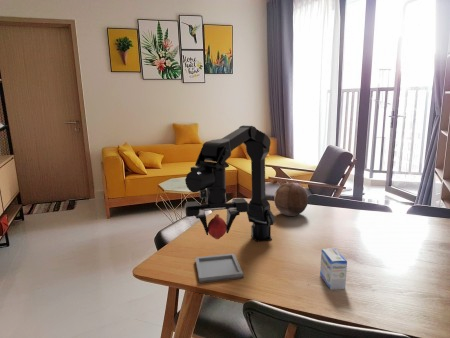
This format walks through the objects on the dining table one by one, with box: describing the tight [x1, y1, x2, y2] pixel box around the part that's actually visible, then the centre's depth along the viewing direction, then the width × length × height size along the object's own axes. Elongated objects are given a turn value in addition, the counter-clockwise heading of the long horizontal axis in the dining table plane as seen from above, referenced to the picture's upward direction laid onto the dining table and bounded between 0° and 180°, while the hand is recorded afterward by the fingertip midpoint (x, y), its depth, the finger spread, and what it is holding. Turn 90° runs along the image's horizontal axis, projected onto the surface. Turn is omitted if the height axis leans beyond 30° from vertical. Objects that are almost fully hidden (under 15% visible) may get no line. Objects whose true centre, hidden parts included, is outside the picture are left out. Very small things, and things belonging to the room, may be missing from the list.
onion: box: [207, 213, 227, 240], centre depth 98 cm, size 6×6×8 cm
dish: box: [195, 253, 244, 284], centre depth 101 cm, size 13×13×2 cm
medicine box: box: [319, 247, 348, 291], centre depth 92 cm, size 8×4×9 cm, turn 5°
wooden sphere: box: [273, 182, 309, 217], centre depth 146 cm, size 15×15×15 cm
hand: (217, 233), depth 99 cm, fingers closed on onion, 6 cm apart
